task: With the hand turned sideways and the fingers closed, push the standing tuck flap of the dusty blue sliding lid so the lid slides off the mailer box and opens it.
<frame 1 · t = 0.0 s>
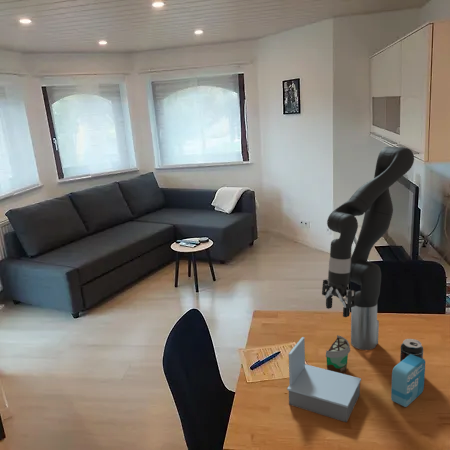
hand: (337, 312, 158), 17 cm above the table, tool pointing down, fingers open, 8 cm apart
mailer box: (324, 399, 139), on the table
data package: (407, 397, 137), on the table
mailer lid: (324, 368, 136), point 11 cm above the table, slide at 0.0 cm
beverage can: (410, 375, 148), on the table
food container: (340, 370, 153), on the table
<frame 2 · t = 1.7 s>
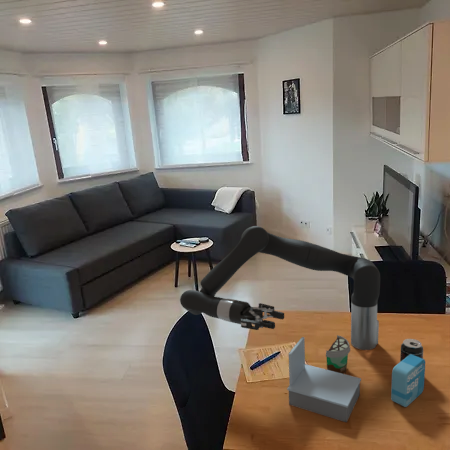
hand: (279, 320, 140), 24 cm above the table, tool horizontal, fingers open, 6 cm apart
nothing on the table moved.
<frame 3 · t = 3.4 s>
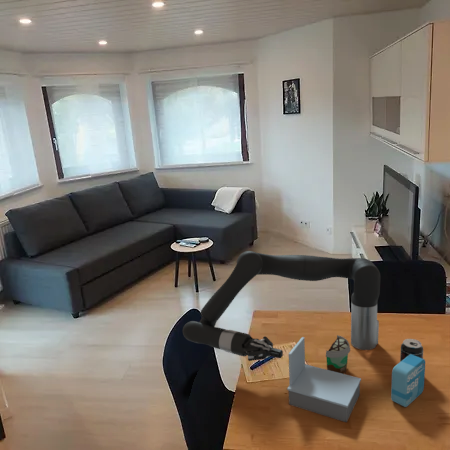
hand: (281, 354, 143), 12 cm above the table, tool horizontal, fingers closed
nothing on the table moved.
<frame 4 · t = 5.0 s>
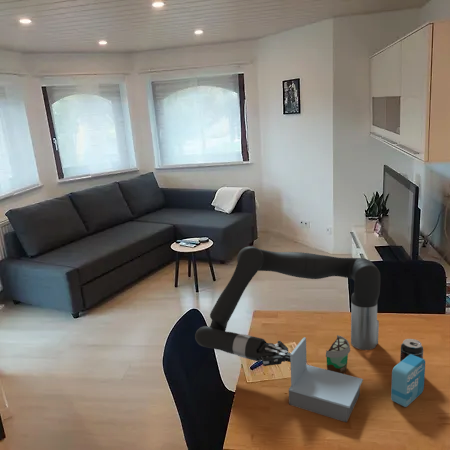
hand: (297, 359, 140), 12 cm above the table, tool horizontal, fingers closed
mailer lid: (326, 369, 135), point 11 cm above the table, slide at 0.6 cm, touching gripper
everything else where it was.
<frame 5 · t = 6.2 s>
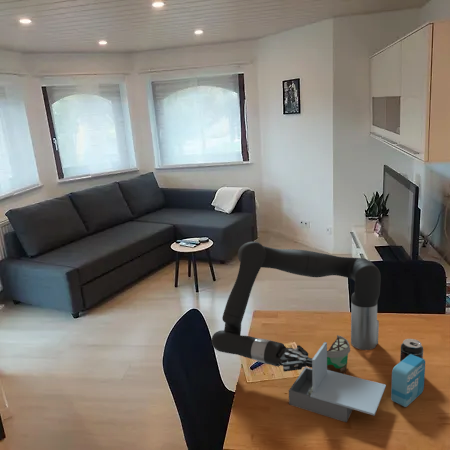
hand: (318, 364, 136), 12 cm above the table, tool horizontal, fingers closed
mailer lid: (348, 374, 132), point 11 cm above the table, slide at 7.5 cm, touching gripper
everything else where it was.
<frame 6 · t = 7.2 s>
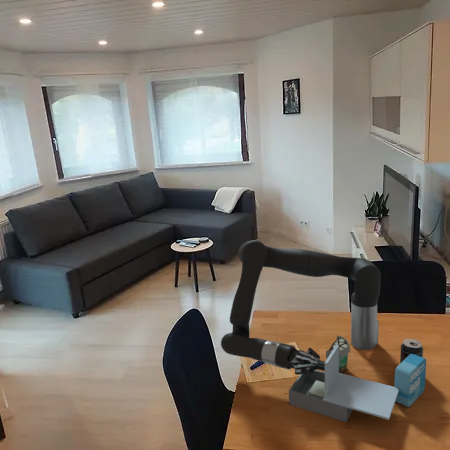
hand: (330, 367, 134), 12 cm above the table, tool horizontal, fingers closed
data package: (409, 397, 137), on the table, touching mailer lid
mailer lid: (361, 378, 130), point 11 cm above the table, slide at 11.3 cm, touching data package, gripper
everything else where it was.
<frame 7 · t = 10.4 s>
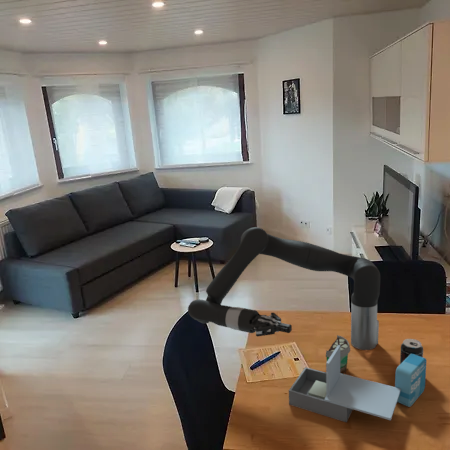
hand: (290, 329, 138), 22 cm above the table, tool horizontal, fingers closed
data package: (409, 397, 138), on the table
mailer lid: (363, 378, 130), point 11 cm above the table, slide at 11.8 cm
everything else where it was.
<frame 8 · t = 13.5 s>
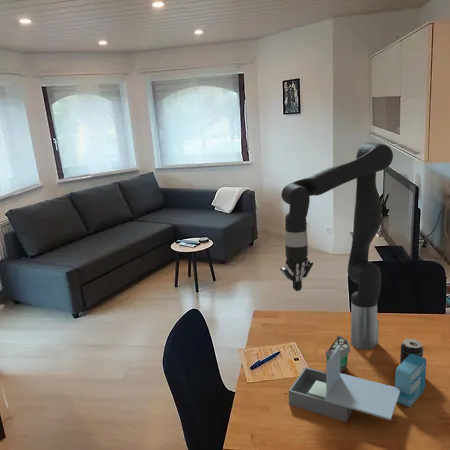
hand: (297, 290, 155), 27 cm above the table, tool pointing down, fingers closed
nothing on the table moved.
at the end: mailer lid slide at 11.8 cm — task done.
